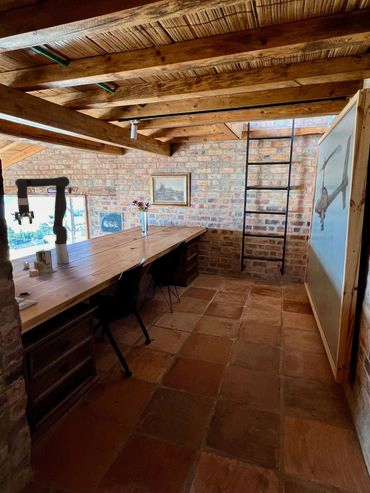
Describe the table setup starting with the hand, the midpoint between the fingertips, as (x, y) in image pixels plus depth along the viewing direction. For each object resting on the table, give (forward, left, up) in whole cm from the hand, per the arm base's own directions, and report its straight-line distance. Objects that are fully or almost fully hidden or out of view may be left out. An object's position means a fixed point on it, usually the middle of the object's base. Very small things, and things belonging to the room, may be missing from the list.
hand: (25, 224), depth 225 cm
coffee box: (+2, +23, -36) cm, 42 cm away
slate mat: (+2, +23, -36) cm, 43 cm away
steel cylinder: (+3, 0, -36) cm, 36 cm away
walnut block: (-5, +4, -36) cm, 37 cm away
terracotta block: (+11, +22, -36) cm, 44 cm away
